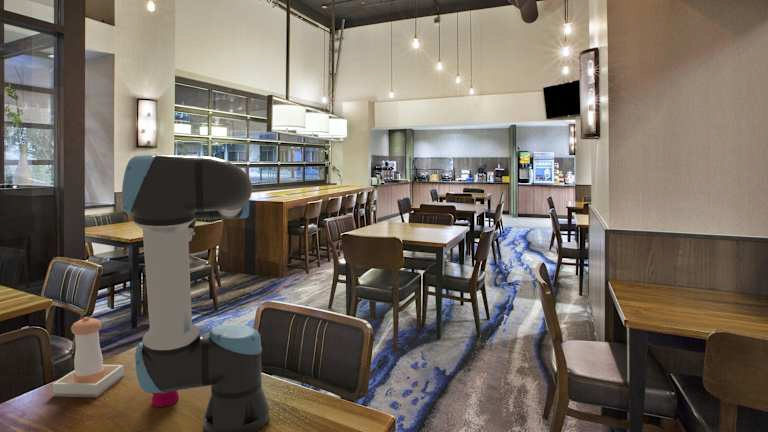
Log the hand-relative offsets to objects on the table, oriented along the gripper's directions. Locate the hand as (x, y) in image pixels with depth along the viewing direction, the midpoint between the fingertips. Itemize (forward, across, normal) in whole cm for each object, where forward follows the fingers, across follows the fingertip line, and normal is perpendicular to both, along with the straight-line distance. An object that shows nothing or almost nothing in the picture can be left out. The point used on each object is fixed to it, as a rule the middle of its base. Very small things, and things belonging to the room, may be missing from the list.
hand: (160, 309), depth 131 cm
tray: (+23, -3, +12) cm, 26 cm away
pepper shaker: (+23, -3, +12) cm, 26 cm away
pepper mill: (+21, -16, -10) cm, 28 cm away
